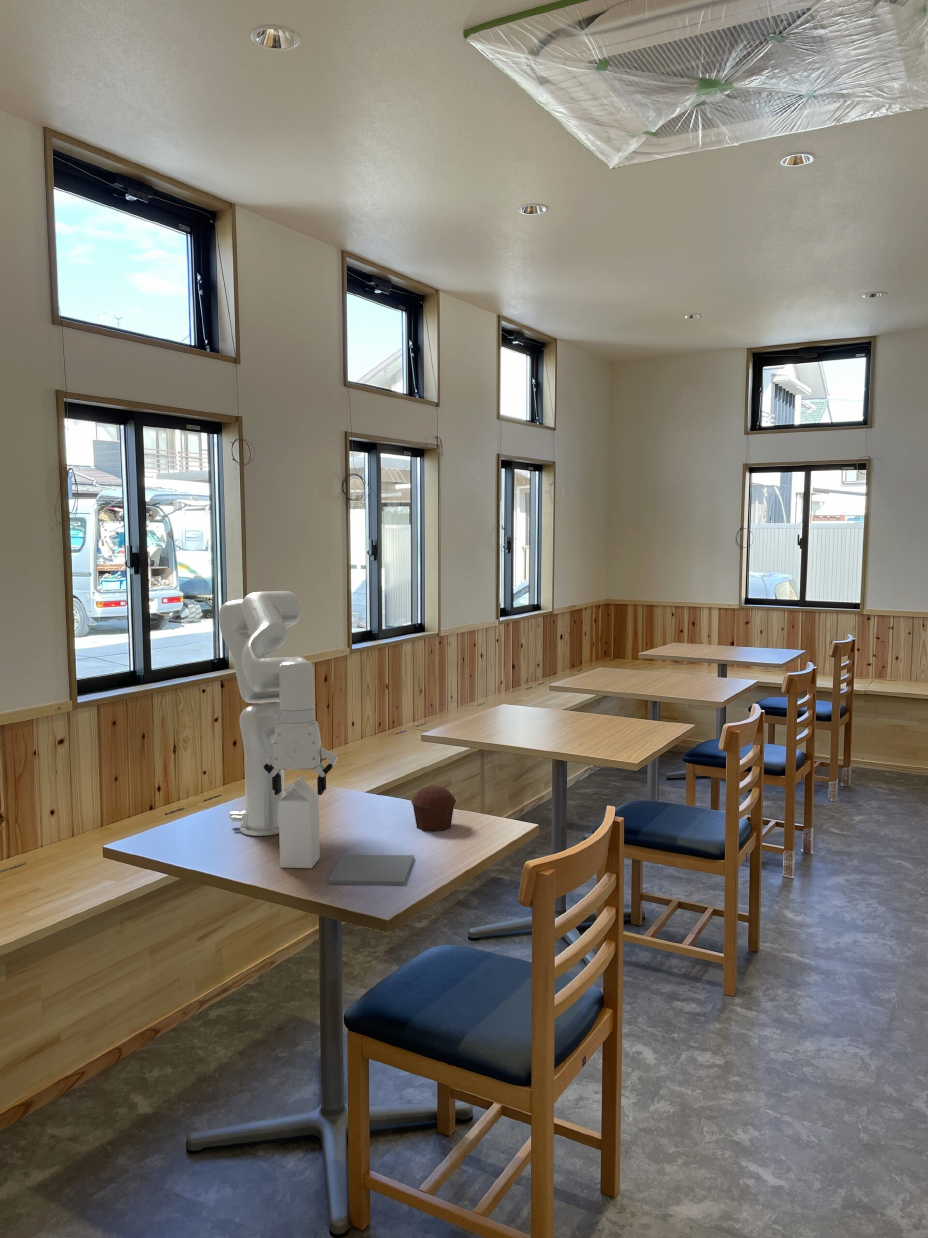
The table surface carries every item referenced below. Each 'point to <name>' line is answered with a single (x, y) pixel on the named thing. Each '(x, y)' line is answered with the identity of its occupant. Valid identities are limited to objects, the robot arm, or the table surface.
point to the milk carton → (299, 826)
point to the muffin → (433, 808)
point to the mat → (372, 869)
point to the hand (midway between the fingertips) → (299, 793)
